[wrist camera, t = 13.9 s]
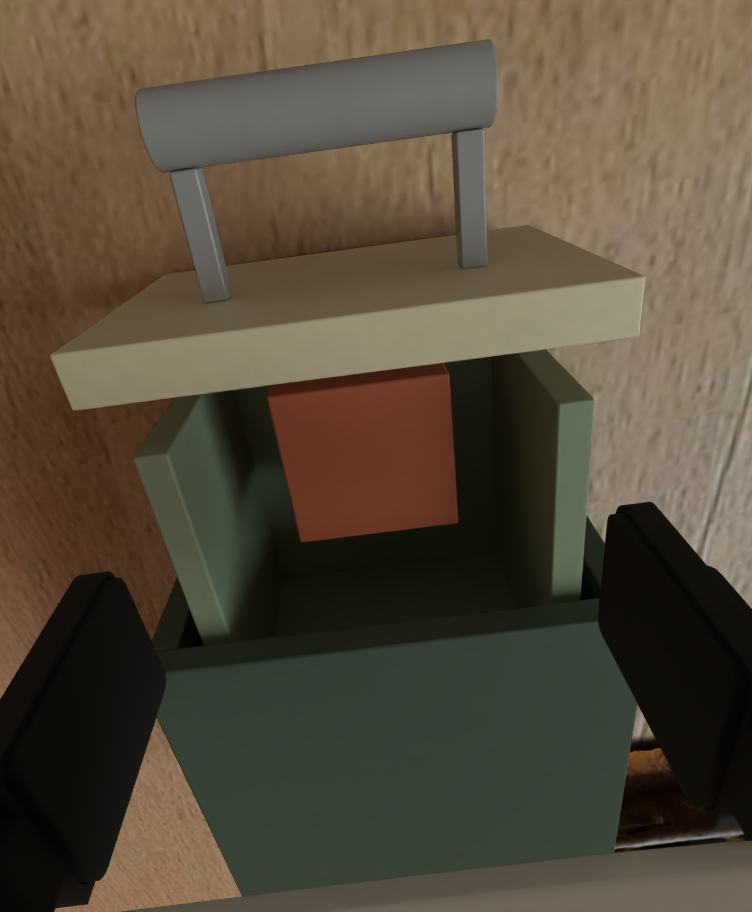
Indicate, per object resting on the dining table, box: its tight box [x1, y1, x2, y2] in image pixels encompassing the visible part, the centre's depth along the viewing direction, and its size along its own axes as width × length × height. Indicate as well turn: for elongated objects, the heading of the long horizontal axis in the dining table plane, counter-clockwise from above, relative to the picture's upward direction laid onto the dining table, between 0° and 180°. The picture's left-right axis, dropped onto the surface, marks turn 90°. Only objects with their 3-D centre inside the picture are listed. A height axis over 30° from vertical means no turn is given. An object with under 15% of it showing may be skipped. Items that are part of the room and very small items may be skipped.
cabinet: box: [152, 515, 637, 897], centre depth 21 cm, size 14×13×10 cm
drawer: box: [50, 40, 645, 646], centre depth 16 cm, size 17×11×8 cm
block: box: [267, 363, 458, 542], centre depth 17 cm, size 4×4×4 cm
